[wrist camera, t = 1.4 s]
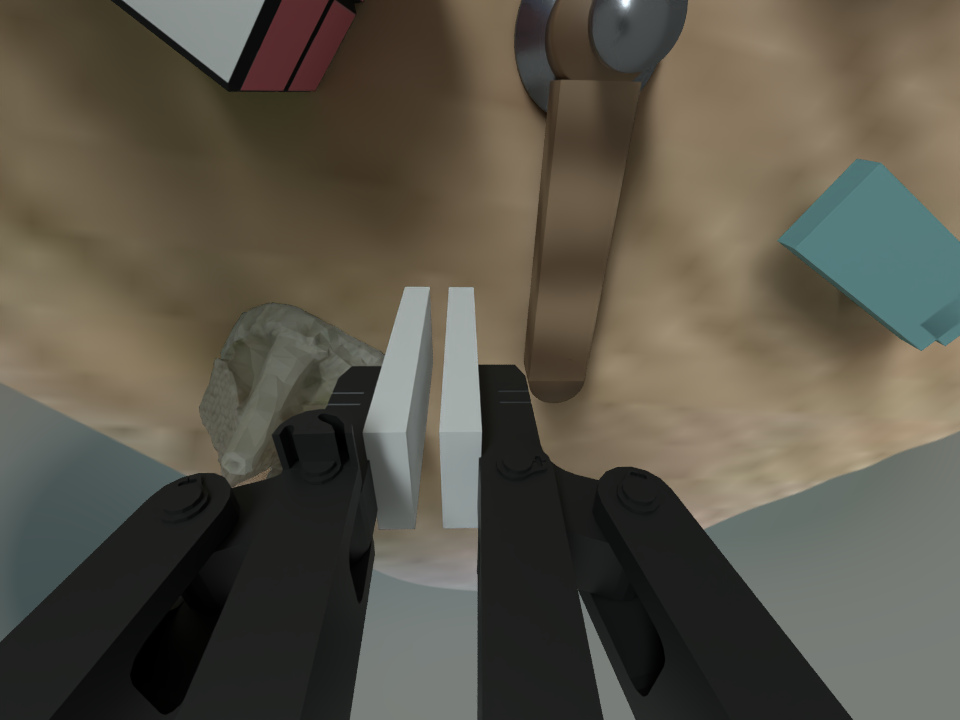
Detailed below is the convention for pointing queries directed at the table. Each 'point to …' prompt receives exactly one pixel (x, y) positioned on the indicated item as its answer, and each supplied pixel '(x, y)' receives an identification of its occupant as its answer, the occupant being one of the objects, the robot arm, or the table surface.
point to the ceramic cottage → (273, 382)
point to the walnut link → (575, 202)
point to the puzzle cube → (251, 38)
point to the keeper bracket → (883, 253)
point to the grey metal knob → (600, 39)
